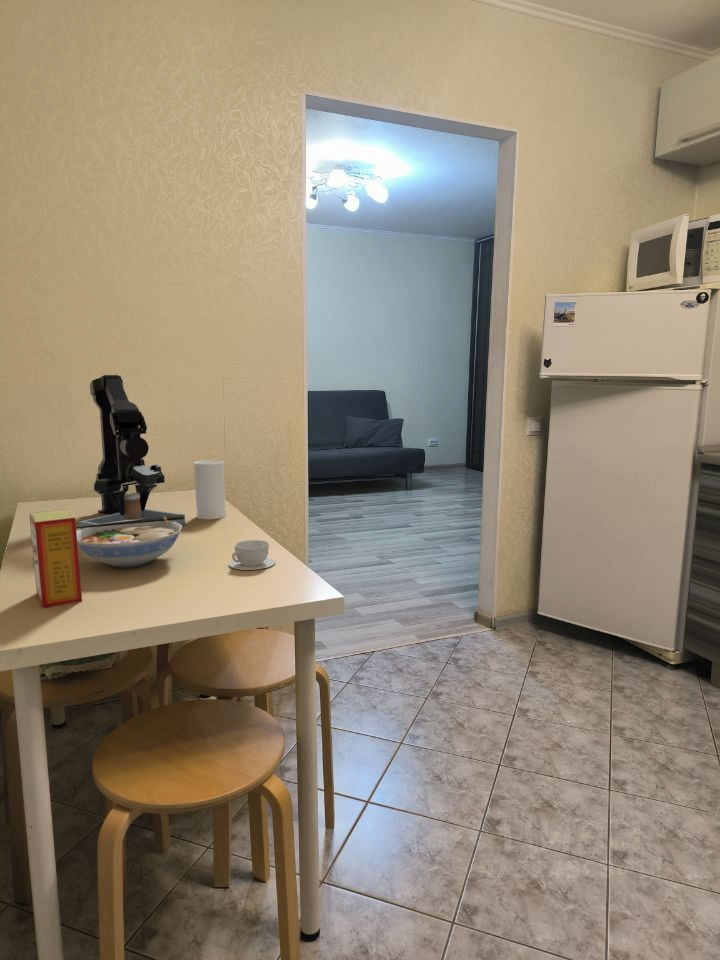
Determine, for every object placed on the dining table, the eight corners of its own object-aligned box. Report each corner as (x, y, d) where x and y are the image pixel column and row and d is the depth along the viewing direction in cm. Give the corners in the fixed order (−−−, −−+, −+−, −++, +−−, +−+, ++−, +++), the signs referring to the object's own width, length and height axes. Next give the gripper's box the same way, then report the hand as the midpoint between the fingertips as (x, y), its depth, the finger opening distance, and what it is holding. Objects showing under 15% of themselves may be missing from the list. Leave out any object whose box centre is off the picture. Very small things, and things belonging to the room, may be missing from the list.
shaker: (120, 526, 176) (116, 495, 175) (135, 523, 180) (131, 492, 179) (132, 526, 173) (128, 494, 172) (146, 523, 177) (143, 492, 176)
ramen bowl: (67, 585, 129) (63, 545, 128) (70, 556, 150) (67, 521, 149) (196, 570, 139) (194, 532, 137) (182, 544, 159) (180, 511, 158)
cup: (229, 513, 195) (227, 460, 192) (220, 519, 187) (218, 463, 184) (202, 513, 196) (199, 460, 193) (192, 519, 188) (189, 463, 185)
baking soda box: (36, 593, 125) (29, 511, 122) (73, 587, 128) (66, 507, 126) (43, 608, 117) (34, 520, 114) (82, 601, 120) (75, 515, 118)
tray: (79, 532, 173) (79, 521, 172) (141, 518, 189) (140, 508, 189) (125, 541, 163) (124, 529, 163) (185, 525, 180) (184, 514, 180)
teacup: (256, 556, 149) (255, 536, 149) (284, 564, 143) (284, 543, 142) (219, 566, 142) (218, 545, 141) (248, 575, 135) (247, 553, 135)
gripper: (119, 461, 161) (123, 523, 164) (177, 453, 177) (180, 510, 179) (90, 458, 167) (95, 518, 170) (149, 451, 183) (152, 506, 185)
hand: (132, 513), depth 176 cm, fingers open, 6 cm apart
